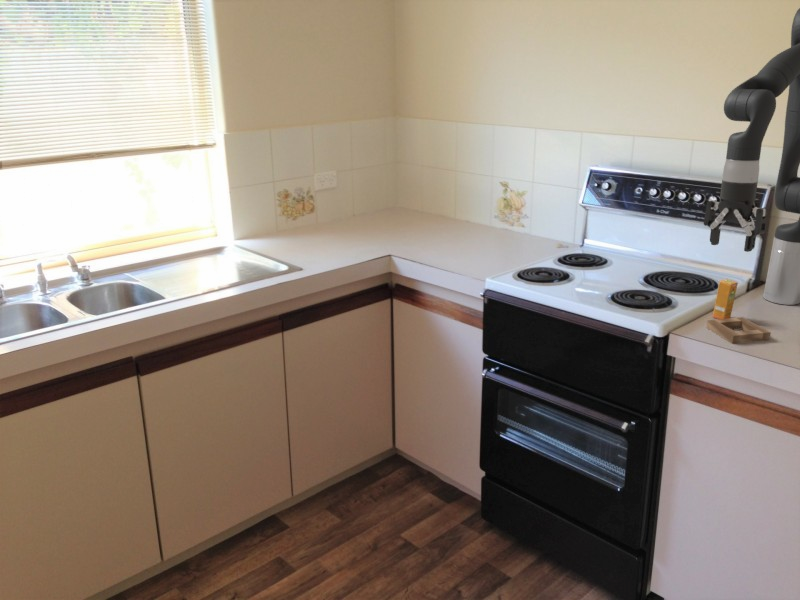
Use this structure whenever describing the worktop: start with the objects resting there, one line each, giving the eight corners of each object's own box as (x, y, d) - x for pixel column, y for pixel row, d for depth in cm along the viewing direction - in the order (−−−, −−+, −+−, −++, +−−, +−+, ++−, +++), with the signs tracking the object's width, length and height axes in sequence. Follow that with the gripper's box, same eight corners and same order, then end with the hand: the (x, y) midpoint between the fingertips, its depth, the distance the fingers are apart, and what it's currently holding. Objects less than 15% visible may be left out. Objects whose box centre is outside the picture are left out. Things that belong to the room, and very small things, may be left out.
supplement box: (724, 321, 184) (730, 284, 180) (712, 317, 186) (718, 280, 183) (731, 318, 186) (738, 281, 182) (719, 315, 188) (725, 278, 185)
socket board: (741, 324, 182) (742, 317, 181) (769, 340, 173) (770, 332, 172) (706, 327, 180) (707, 320, 179) (732, 343, 171) (733, 335, 170)
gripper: (779, 181, 164) (768, 251, 169) (721, 174, 176) (713, 240, 180) (760, 184, 160) (750, 255, 165) (702, 177, 172) (694, 244, 176)
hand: (730, 247), depth 173 cm, fingers open, 8 cm apart
